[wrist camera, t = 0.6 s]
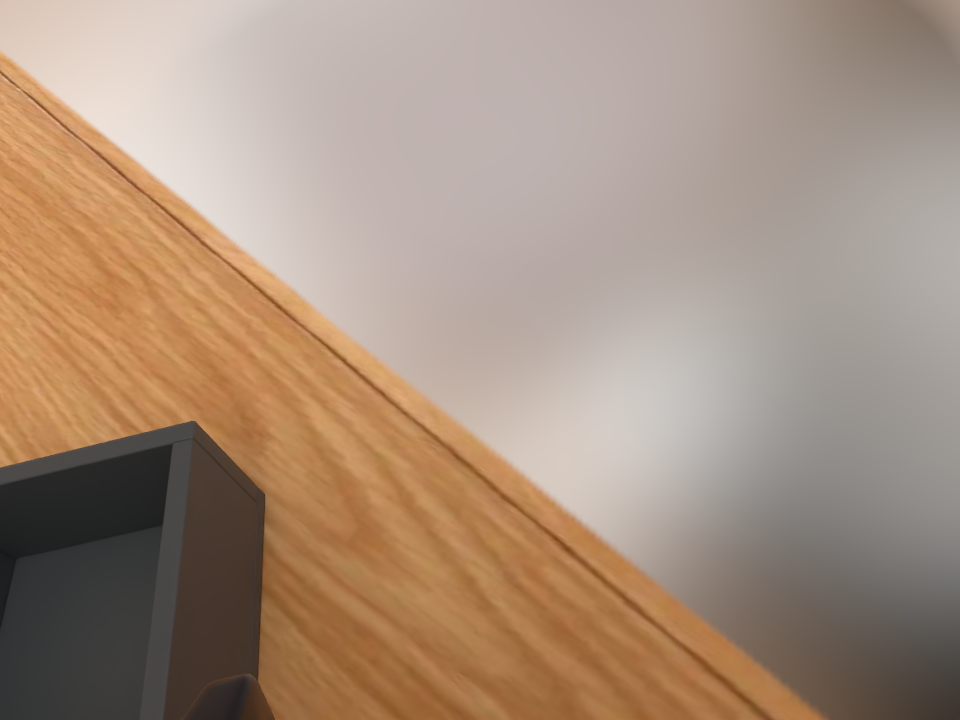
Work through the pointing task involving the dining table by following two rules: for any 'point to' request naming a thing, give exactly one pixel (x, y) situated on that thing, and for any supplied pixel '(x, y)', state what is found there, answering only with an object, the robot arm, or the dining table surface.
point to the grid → (127, 577)
